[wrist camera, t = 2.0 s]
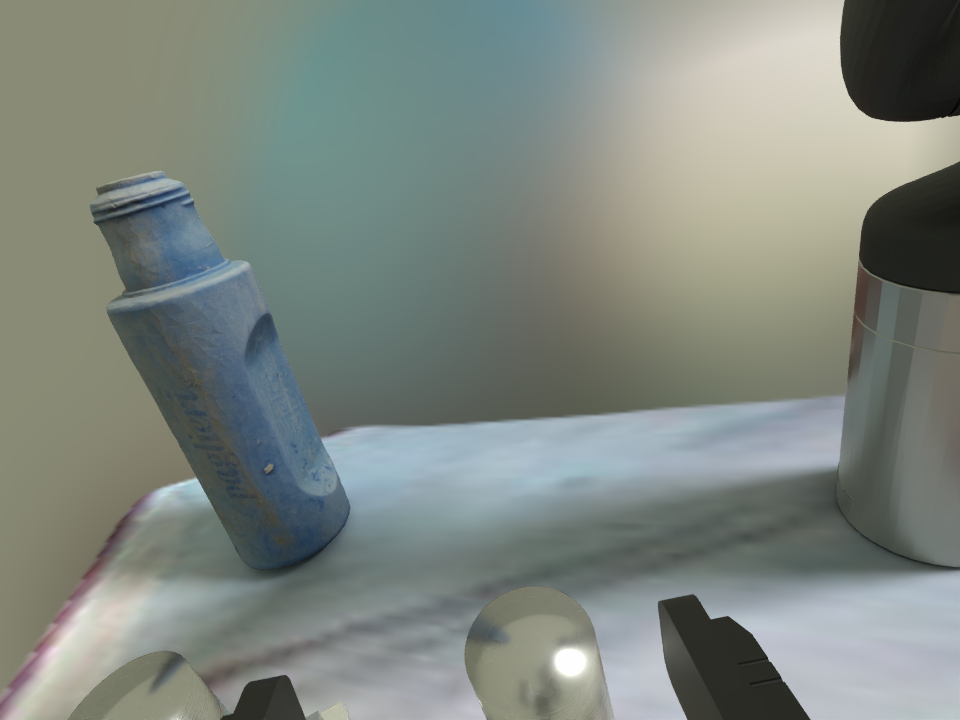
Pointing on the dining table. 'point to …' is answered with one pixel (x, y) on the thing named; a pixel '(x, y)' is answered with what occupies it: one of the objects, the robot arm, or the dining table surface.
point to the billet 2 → (536, 659)
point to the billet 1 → (152, 693)
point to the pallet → (331, 713)
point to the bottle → (218, 373)
